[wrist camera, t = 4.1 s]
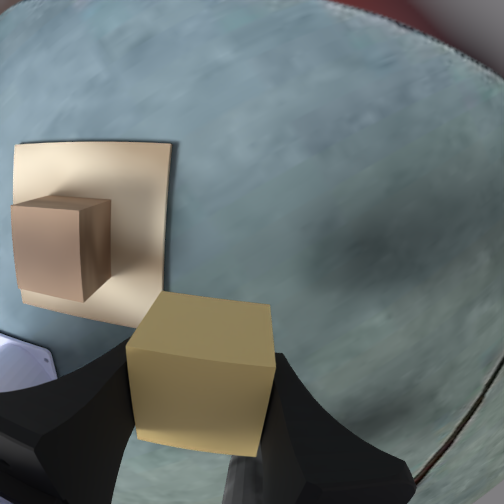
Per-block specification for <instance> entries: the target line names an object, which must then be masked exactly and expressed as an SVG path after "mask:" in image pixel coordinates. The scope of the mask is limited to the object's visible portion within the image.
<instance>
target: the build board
mask: <svg viewBox="0 0 504 504" xmlns="http://www.w3.org/2000/svg"><path fill="white" fill-rule="evenodd" d="M171 152H172V144H167V143H144V142H57V143H35V144H20V145H15V150H14V170H13V205H14V204H18V203H21V202H25V201H29V200H33V199H36V198H40V197H44V196H66V197H81V198H96V199H110V200H111V278H110V279H109V280H108V281H107V282H105V283H104V284H103V285H102V286H101V287H100V288H99V289H98V290H97V291H96V292H95V293H94V294H93V295H91V296H90V297H89V298H88V299H87V300H86V301H85V302H84V303H81V302H77V301H72V300H67V299H62V298H58V297H53V296H49V295H44V294H40V293H36V292H32V291H27V290H23V289H21V294H22V300H23V303H25V304H29V305H32V306H36V307H40V308H44V309H48V310H52V311H56V312H61V313H65V314H69V315H73V316H78V317H82V318H87V319H92V320H97V321H101V322H106V323H111V324H116V325H122V326H127V327H133V328H137V327H138V326H139V324H140V323H141V321H142V320H143V318H144V317H145V315H146V313H147V312H148V310H149V309H150V307H151V306H152V304H153V303H154V301H155V300H156V298H157V297H158V295H159V294H160V292H161V291H163V288H164V252H165V230H166V213H167V198H168V185H169V173H170V162H171Z"/></svg>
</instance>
